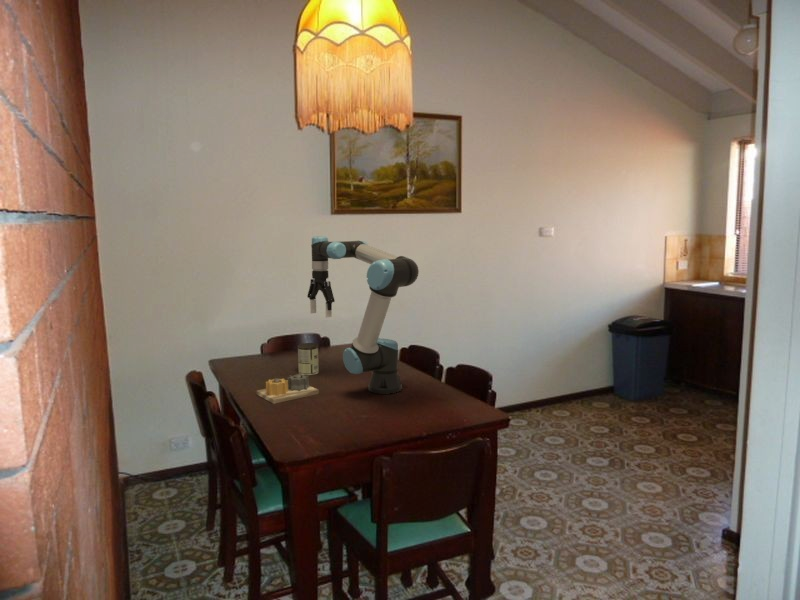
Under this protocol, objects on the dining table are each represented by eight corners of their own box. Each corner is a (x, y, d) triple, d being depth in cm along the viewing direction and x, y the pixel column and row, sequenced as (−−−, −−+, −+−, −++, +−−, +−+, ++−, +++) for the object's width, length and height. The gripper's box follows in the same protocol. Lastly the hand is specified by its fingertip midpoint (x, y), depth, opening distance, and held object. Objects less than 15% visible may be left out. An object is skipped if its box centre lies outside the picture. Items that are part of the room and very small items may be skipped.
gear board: (318, 393, 256) (318, 376, 255) (273, 403, 242) (273, 385, 241) (300, 385, 268) (300, 369, 267) (256, 394, 255) (256, 377, 254)
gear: (291, 393, 251) (290, 381, 251) (272, 396, 246) (272, 385, 245) (281, 388, 258) (281, 377, 257) (263, 391, 253) (262, 380, 252)
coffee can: (301, 369, 296) (300, 342, 294) (321, 370, 295) (320, 343, 293) (295, 375, 286) (295, 347, 284) (316, 375, 285) (315, 347, 283)
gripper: (341, 271, 262) (342, 317, 265) (313, 267, 281) (314, 310, 284) (327, 272, 257) (328, 319, 260) (299, 268, 276) (300, 312, 279)
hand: (320, 315), depth 272 cm, fingers open, 13 cm apart
